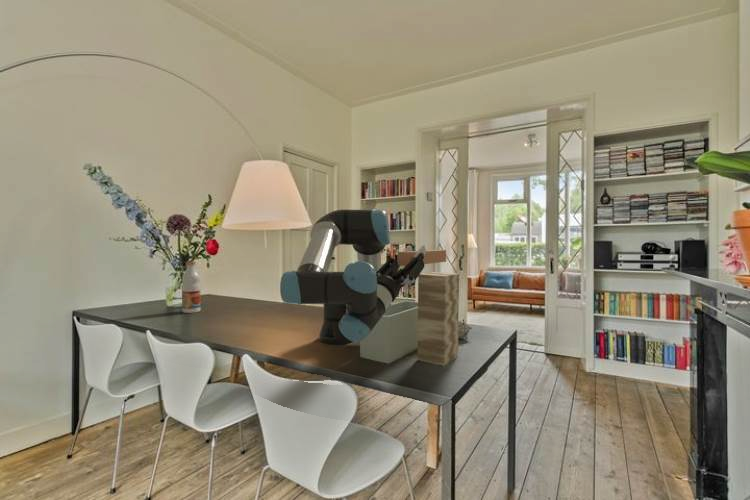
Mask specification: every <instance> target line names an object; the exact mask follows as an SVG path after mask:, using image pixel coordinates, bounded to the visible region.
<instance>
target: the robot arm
mask: <svg viewBox="0 0 750 500" xmlns="http://www.w3.org/2000/svg"><path fill="white" fill-rule="evenodd" d="M390 231H391V230H390V222H389V216H388V213H387V211H386V210H383V209H376V208H374V209H373V208H372V209H337V210H333V211H331V212H328V213H326V214H325V215H323V216H321V217H320V218H319V219H318V220H316V222H315V223H314V224H313V226H312V227H311V230H310V241H309V243H308V245H307V247H306V249H305V252H304V254H303V256H302V258H301V261H300V263H299V265H298V267H297V270H291V271H289V270H288V271H285V272H283V273H282V275H281V278H280V284H279V292H280V299H281V300H282V301H283V303H286V304H294V305H295V304H296V305H323V322H322V325H321V328H320V332H319V337H318V339H319V341H320V342H322V343H325V344H328V345H329V344H330V345H331V344H332V345H342V344H348V343H352V342H354V343H360V342H361V341H363V340H364V339H365V338H366V337H367V335H368V334H370V333H371V331H372V329H373V328H374V327H375V325H376V324H377V322H378V321H379V320H380V318H381V317H382V316H383V314H384V313H385V312H386V310H387V309H388V308H389V306H390V305H391V304H393V302H394V301H395V300H396V299H397V297H398V296H399V294H400V292H401V289H402V288H404V286H405V285H408V284H410V286H412V287H413V286H415V285H416V281H417V279H418V276H419V274H422V271H423V270H424V269H425V264H424V262H423V259H424V255H425V254H426V247H425V245H421V246H420V248H419V249H418V250H416V251H417V253H416V254H415V255H414V256H413V258H414V259H413V260H412V261H411V262H410V263H409V264H407V265H406V266H403V268H400V267H401V266H400V265H397V256H398V254H394V258H393V257H390V258H389V259H387V260H386V262H384V264H383V265H382V251H384V250H385V248H386V246H388V245H390V243H391V233H390ZM339 245H341V246H342V245H346V246H347V245H350V246H352V248H353V250H354V251H355V252H356V256H357V261H355V262H354V263H353V262H350V263H348V264H347V265H346V266H345V268H344V269H343V271H329V270H330V267H331V263H332V259H333V255H334V253H335V249H336V248H337V247H338V246H339ZM405 251H413V247H412V245H411V244H409V245H408V246H407V247H406V248H405V249H404V250H403V251H402V252H405Z"/></svg>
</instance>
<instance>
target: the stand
mask: <svg viewBox="0 0 750 500" xmlns="http://www.w3.org/2000/svg"><path fill="white" fill-rule="evenodd" d="M417 279H418V280H417V283H418V284H417V286H418V288H417V290H418V291H417V295H418V296H417V302H418V349H417V352H416V353H417V356H416V357H417V360H418V361H421V362H426V363H429V364H434V365H438V366H443V367H444V366H446V365H448V364H449V363H450V362H451V361H453V360H455V359H456V358H457V357H458V356H459V338H458V321H459V307H460V306H459V300H460V298H459V297H460V295H459V293H460V273H456V272H455V273H453V272H440V271H432V272H426V273H425V272H424V273H420V274H419V276H418V277H417Z"/></svg>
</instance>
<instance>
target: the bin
mask: <svg viewBox="0 0 750 500" xmlns="http://www.w3.org/2000/svg"><path fill="white" fill-rule="evenodd" d="M359 344H360V346H359V357H360V358H363V359H367V360H370V361H375V362H379V363H382V364H386V365H387V364H391V363H393V362H394V361H396V360H399V359H401V358H403V357H404V356H406V355H408V354H410V353H412V352H415V351H416V350H418V301H412V300H411V301H410V300H402V301H398V302H394V303H391V305H390V306H389V308H388V309H387V310H386V312H385V313H384V314H383V316H382V317H381V318H380V320H379V321H378V322H377V324H376V325H375V327H374V328H373V329H372V331H371V333H370V334H368V335H367V337H366V338H365V339H364V340H363V341H361V342H359Z"/></svg>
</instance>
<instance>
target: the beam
mask: <svg viewBox="0 0 750 500" xmlns="http://www.w3.org/2000/svg"><path fill="white" fill-rule="evenodd" d="M425 250H426V249H425ZM417 251H418V250H412V251H405V252H403V251H397V255H398V256H397V265H400V267H405V266H406V265H407V264H409V263H410V262H411V261H412V260H413V259H414V258H413V256H414V255H415V254H416V253H417ZM423 262H424V265H428V264H437V263H438V264H439V263H445V262H447V250H446V249H428V250H426V254H425V255H424V259H423Z"/></svg>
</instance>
